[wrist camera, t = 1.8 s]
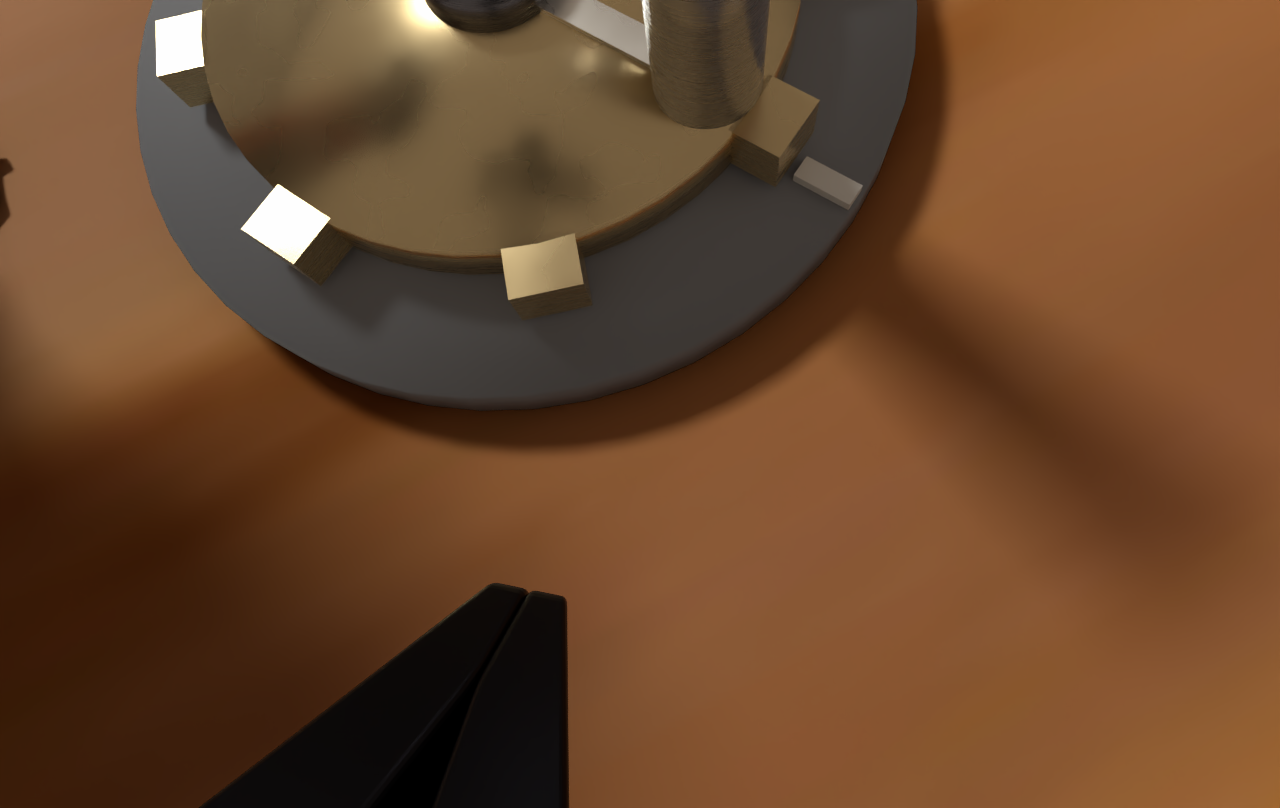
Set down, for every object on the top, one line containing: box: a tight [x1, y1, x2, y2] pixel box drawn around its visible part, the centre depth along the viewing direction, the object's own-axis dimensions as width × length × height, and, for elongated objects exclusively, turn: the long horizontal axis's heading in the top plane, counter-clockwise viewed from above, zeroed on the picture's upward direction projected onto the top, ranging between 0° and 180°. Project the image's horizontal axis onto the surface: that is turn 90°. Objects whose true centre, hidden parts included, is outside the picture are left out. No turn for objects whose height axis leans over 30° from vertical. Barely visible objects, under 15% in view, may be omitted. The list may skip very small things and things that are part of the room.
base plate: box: [136, 0, 917, 411], centre depth 25 cm, size 25×25×2 cm
